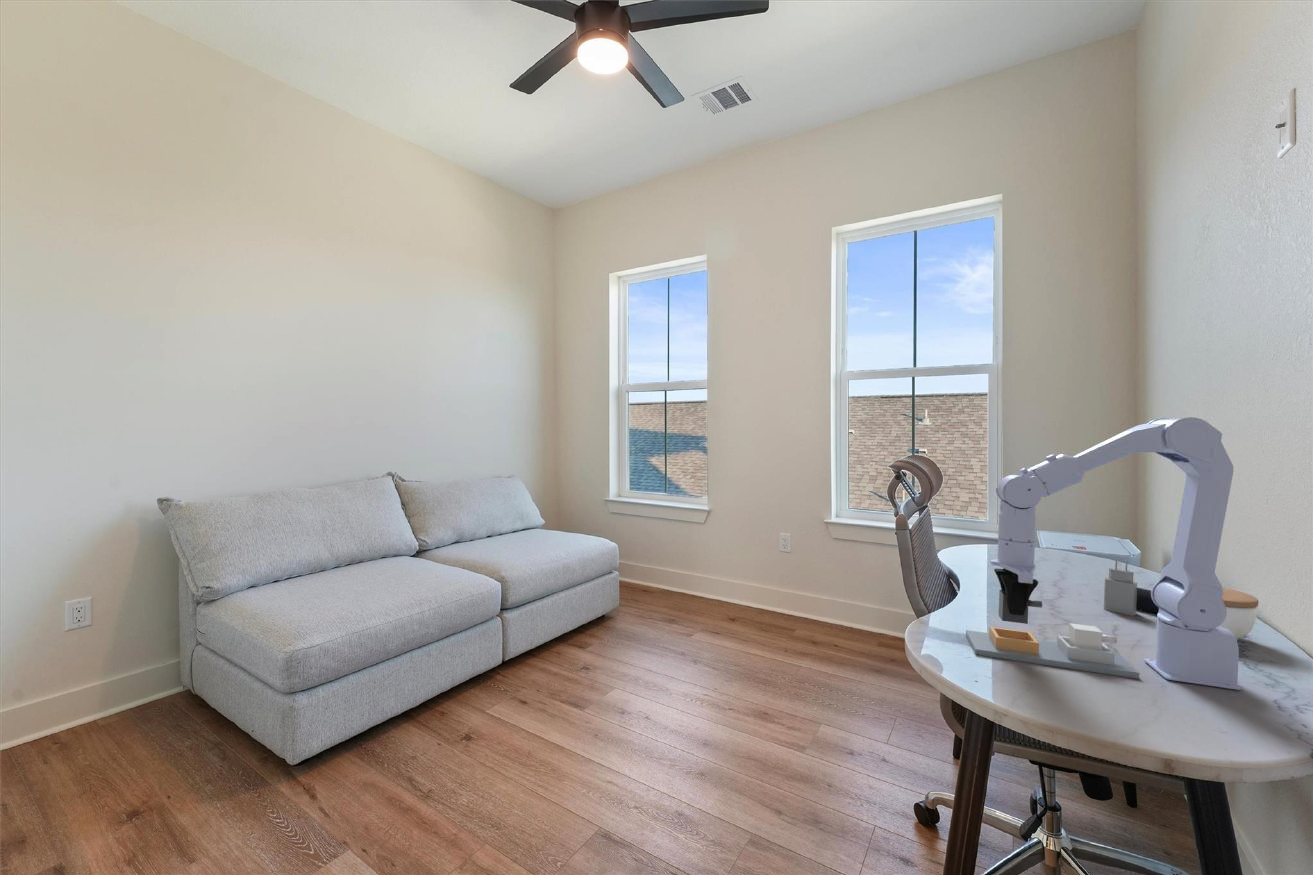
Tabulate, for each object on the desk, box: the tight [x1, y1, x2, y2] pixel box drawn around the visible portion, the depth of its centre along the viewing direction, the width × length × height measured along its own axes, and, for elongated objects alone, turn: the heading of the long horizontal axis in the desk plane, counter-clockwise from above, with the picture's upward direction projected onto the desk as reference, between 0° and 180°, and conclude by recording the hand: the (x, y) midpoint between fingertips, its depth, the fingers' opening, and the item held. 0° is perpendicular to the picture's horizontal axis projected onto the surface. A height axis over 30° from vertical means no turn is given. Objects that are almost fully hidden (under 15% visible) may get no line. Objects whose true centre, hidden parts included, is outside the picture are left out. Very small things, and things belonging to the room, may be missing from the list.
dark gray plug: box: [998, 589, 1043, 625], centre depth 100 cm, size 6×3×5 cm, turn 69°
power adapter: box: [1103, 558, 1138, 617], centre depth 124 cm, size 3×5×12 cm, turn 35°
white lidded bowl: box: [1218, 587, 1259, 641], centre depth 109 cm, size 13×13×11 cm
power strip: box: [965, 622, 1140, 680], centre depth 99 cm, size 24×10×6 cm, turn 69°
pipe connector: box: [1136, 587, 1159, 615], centre depth 122 cm, size 12×5×15 cm
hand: (1014, 611), depth 101 cm, fingers closed on dark gray plug, 3 cm apart
